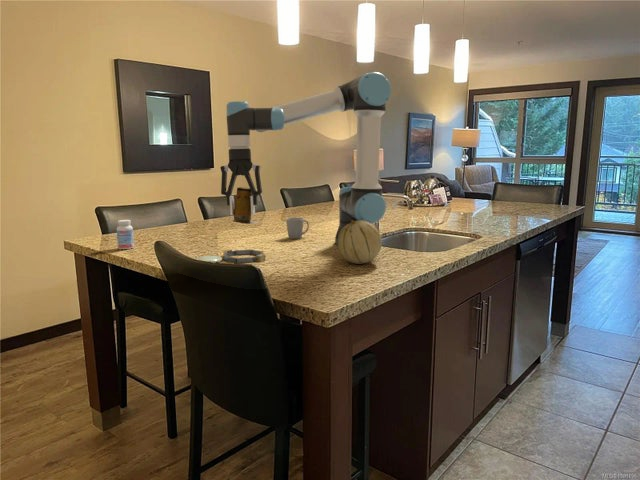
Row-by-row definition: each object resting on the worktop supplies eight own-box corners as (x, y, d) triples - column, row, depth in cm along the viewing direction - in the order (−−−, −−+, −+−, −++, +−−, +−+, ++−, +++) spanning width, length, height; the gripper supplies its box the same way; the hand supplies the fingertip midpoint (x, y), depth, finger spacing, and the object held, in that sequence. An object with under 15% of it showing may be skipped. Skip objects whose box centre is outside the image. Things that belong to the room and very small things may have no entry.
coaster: (228, 259, 169) (227, 258, 169) (206, 265, 161) (206, 263, 161) (208, 256, 174) (208, 254, 174) (186, 261, 166) (186, 260, 166)
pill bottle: (117, 250, 186) (114, 222, 184) (119, 247, 192) (116, 219, 190) (133, 249, 188) (131, 221, 186) (135, 246, 194) (132, 219, 192)
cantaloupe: (389, 262, 163) (390, 219, 160) (364, 270, 152) (364, 224, 149) (355, 256, 172) (355, 215, 170) (328, 263, 162) (328, 220, 159)
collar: (275, 257, 172) (275, 251, 172) (249, 265, 161) (249, 259, 160) (239, 251, 182) (238, 246, 182) (211, 258, 171) (211, 253, 170)
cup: (284, 237, 212) (284, 217, 210) (306, 235, 215) (306, 216, 213) (288, 240, 204) (288, 220, 203) (311, 238, 207) (310, 219, 206)
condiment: (240, 219, 175) (243, 186, 172) (259, 223, 171) (262, 189, 168) (227, 220, 168) (230, 187, 166) (246, 224, 164) (249, 190, 162)
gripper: (269, 147, 167) (272, 212, 171) (214, 148, 168) (218, 213, 173) (265, 147, 160) (268, 215, 164) (208, 148, 161) (212, 216, 166)
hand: (242, 214), depth 168 cm, fingers closed on condiment, 7 cm apart
